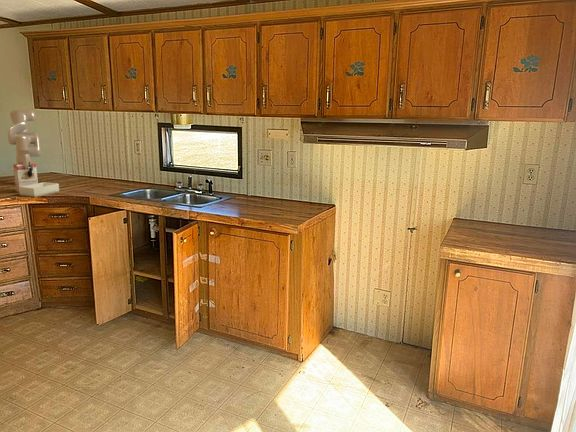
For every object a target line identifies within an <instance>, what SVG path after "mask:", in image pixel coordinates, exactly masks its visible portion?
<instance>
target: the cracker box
mask: <svg viewBox="0 0 576 432" xmlns="http://www.w3.org/2000/svg"><path fill="white" fill-rule="evenodd" d="M32 165H33V166H34V168H33V171H32V177H28V170H27V168H24V165H23V164H17V163H13V164H12V166H13V167H12V168H13V175H14V185H15V192H17V193H19V187H21V186H26V185H32V184H37V183H39V181H38V180H39V179H38V169H37V163H36V162H32ZM30 167H31V166H30ZM29 169H30V168H29Z"/></svg>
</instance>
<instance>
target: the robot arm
mask: <svg viewBox="0 0 576 432" xmlns="http://www.w3.org/2000/svg"><path fill="white" fill-rule="evenodd" d="M36 115H37V114H36V112H35V111H34V110H33V109H13V110H11V111H10V113H9V117H10V119H11V122H12V123H13V125H11V127H9V129H8V131H7V140H8V143H9V144H10V145H11V146H16V148H15V152H16V164H23V165H24V168H27V170H28V177H32V171H33V168H34V166H33V165H32V163H33V161H32V159H31V158H40V157H41V156H42V144H41V138H40V134H39V133H37V132H29V127H28V122H35V121H36V119H37V116H36ZM30 166H31V167H30ZM29 168H30V169H29Z"/></svg>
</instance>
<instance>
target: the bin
mask: <svg viewBox="0 0 576 432" xmlns="http://www.w3.org/2000/svg"><path fill="white" fill-rule="evenodd" d="M59 192H60V184H59V183H56V182H55V183H54V182H45V181H44V182H38V183H37V184H32V185H26V186H21V187H19V192H18V194H19V196H22V197H23V196H24V197H32V198H36V197H40V196H45V195H50V194H54V193H59Z"/></svg>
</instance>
